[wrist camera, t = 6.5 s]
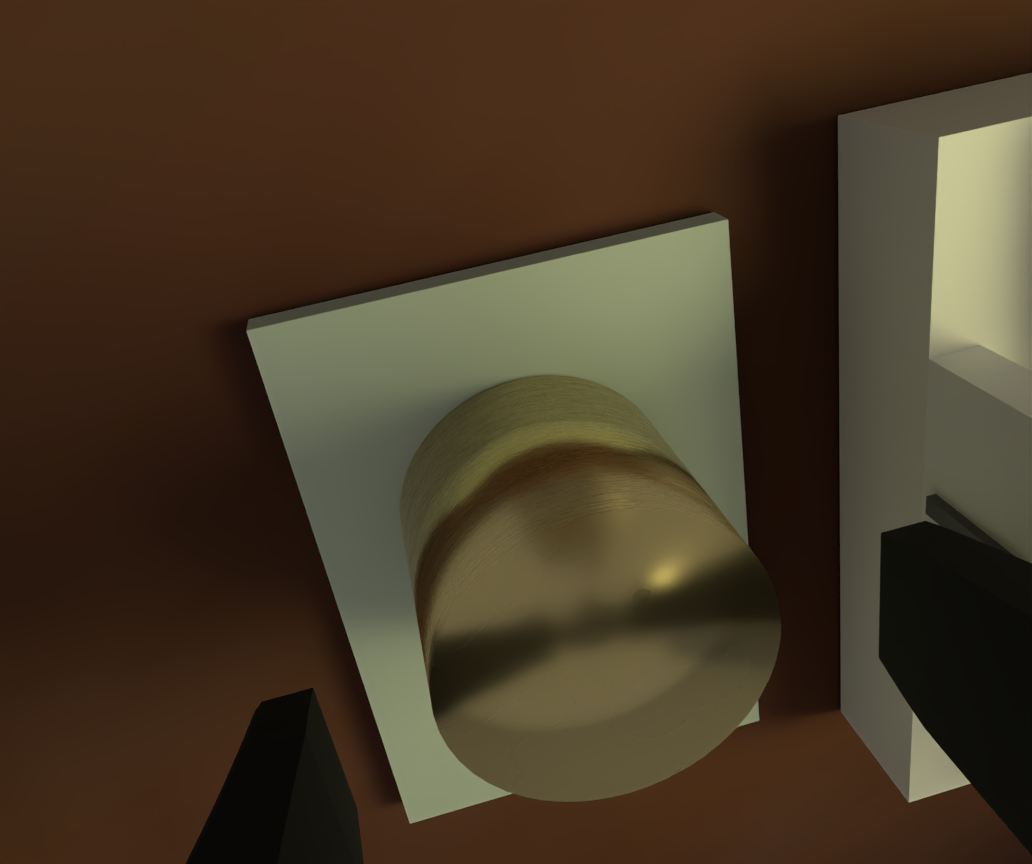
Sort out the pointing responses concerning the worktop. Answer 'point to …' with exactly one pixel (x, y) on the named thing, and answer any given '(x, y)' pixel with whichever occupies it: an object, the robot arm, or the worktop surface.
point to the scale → (930, 366)
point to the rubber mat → (461, 375)
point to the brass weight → (578, 594)
